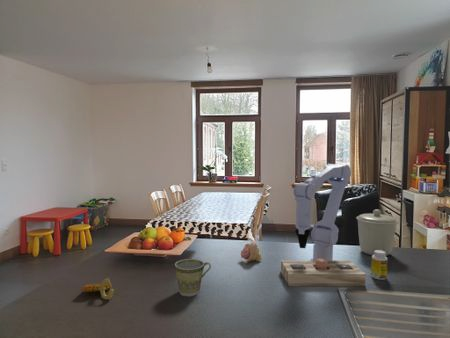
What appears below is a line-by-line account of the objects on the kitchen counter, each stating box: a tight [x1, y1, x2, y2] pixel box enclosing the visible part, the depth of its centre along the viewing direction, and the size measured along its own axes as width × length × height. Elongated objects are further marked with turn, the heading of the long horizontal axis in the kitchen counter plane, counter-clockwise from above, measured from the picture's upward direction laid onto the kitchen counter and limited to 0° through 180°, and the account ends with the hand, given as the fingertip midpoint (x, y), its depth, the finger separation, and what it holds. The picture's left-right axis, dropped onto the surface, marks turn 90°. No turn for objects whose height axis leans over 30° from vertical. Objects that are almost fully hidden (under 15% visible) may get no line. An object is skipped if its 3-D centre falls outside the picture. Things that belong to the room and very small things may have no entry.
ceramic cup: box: [174, 258, 212, 297], centre depth 113 cm, size 13×10×10 cm
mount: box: [280, 259, 367, 287], centre depth 126 cm, size 14×28×4 cm, turn 92°
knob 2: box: [338, 264, 351, 269], centre depth 126 cm, size 4×4×4 cm
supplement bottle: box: [370, 250, 388, 281], centre depth 127 cm, size 6×6×10 cm
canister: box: [355, 209, 399, 257], centre depth 156 cm, size 18×18×21 cm
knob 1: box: [292, 264, 304, 269], centre depth 125 cm, size 4×4×4 cm
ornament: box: [81, 277, 115, 301], centre depth 110 cm, size 7×10×15 cm
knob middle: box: [315, 259, 328, 269], centre depth 125 cm, size 4×4×4 cm
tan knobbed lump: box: [240, 240, 263, 265], centre depth 143 cm, size 9×10×10 cm
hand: (302, 247), depth 130 cm, fingers closed
